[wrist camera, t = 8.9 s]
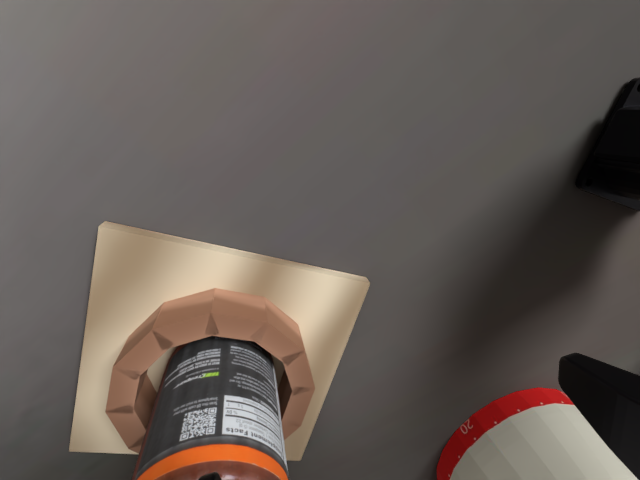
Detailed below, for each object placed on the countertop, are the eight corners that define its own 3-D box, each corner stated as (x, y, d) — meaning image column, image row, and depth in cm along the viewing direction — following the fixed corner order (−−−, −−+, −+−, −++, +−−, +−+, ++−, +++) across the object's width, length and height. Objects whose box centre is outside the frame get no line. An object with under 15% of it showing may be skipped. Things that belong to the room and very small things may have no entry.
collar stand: (365, 277, 20) (385, 305, 17) (298, 450, 24) (305, 496, 21) (105, 221, 16) (74, 245, 13) (75, 439, 20) (46, 494, 17)
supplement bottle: (215, 422, 21) (184, 731, 10) (142, 365, 18) (8, 690, 8) (294, 367, 21) (343, 627, 10) (230, 302, 18) (208, 554, 8)
